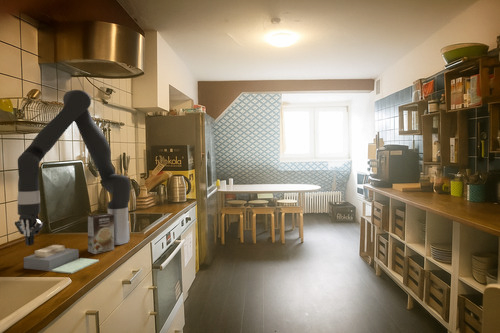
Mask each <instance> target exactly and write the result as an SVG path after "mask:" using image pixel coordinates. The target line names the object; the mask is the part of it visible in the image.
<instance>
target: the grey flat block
mask: <svg viewBox="0 0 500 333" xmlns="http://www.w3.org/2000/svg"><path fill="white" fill-rule="evenodd" d="M79 256H80V254H79V249H78V248H68V247H67V248H66V247H65V250H64V251H62V252H59V253H56V254H53V255H50V256H48V257H37V256H35V253H34V254H31V255H27V256H25V257H23V269H27V270H28V269H29V270H35V271H36V270H37V271H38V270H39V271H45V272H52V270H53V269H55V268H58V267H60V266H62V265H65V264H67V263H70V262H72V261H75V260H77V259H80V258H79Z"/></svg>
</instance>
